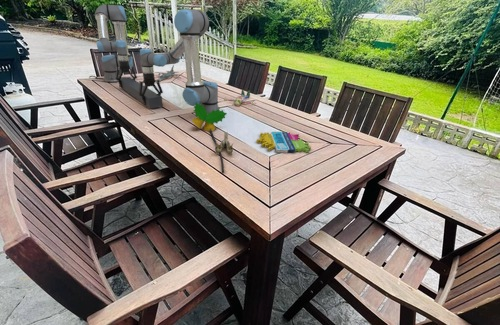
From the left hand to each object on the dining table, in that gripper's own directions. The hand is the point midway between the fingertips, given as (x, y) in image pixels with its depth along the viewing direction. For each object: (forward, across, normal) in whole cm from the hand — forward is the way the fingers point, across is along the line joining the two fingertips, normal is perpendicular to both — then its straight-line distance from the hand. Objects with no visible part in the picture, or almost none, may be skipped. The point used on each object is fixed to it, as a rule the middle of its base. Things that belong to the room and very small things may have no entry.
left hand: (127, 87), depth 230 cm
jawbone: (+2, -3, +145) cm, 145 cm away
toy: (+2, -68, +77) cm, 102 cm away
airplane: (+2, -51, -30) cm, 59 cm away
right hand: (0, 0, +55) cm, 55 cm away
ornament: (+2, -13, +114) cm, 115 cm away
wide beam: (+1, 0, +28) cm, 28 cm away
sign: (+2, -37, +154) cm, 159 cm away
